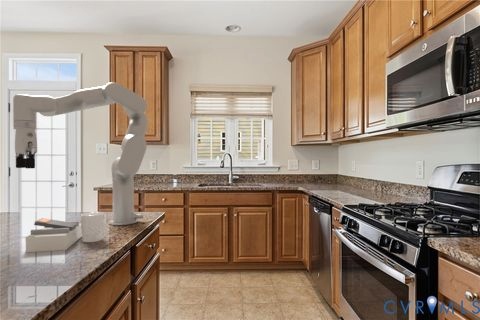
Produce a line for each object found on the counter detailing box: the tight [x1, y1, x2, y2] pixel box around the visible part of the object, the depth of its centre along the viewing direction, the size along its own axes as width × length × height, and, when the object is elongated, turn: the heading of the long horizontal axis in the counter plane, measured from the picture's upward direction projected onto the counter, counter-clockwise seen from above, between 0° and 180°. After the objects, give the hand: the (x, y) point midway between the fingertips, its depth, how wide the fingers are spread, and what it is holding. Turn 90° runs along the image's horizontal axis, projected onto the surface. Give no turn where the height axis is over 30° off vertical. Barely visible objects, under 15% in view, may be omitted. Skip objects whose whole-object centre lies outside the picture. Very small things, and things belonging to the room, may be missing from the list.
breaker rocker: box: [33, 217, 77, 230], centre depth 107 cm, size 12×6×1 cm, turn 103°
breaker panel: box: [25, 221, 82, 253], centre depth 107 cm, size 12×18×6 cm, turn 13°
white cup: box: [80, 211, 105, 243], centre depth 112 cm, size 8×8×10 cm
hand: (25, 168), depth 120 cm, fingers open, 9 cm apart
